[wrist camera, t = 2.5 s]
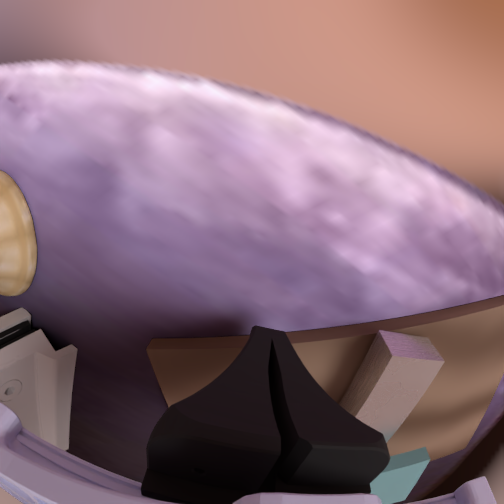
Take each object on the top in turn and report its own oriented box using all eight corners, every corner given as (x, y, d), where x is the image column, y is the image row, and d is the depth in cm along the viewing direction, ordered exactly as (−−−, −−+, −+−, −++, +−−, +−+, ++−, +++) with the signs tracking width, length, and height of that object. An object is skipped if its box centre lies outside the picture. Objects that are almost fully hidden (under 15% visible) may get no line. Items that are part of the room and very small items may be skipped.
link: (340, 473, 17) (343, 494, 15) (287, 470, 16) (287, 493, 15) (435, 338, 13) (452, 361, 11) (369, 328, 13) (382, 354, 11)
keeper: (393, 461, 17) (405, 505, 13) (228, 479, 18) (222, 525, 14) (411, 414, 15) (433, 465, 11) (211, 436, 16) (200, 492, 12)
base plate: (460, 440, 17) (464, 448, 16) (210, 478, 20) (208, 488, 19) (519, 290, 13) (528, 297, 12) (152, 338, 15) (145, 349, 14)
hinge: (68, 449, 21) (2, 493, 12) (40, 416, 22) (-27, 453, 13) (78, 345, 16) (-54, 405, 6) (40, 298, 17) (-80, 336, 8)
